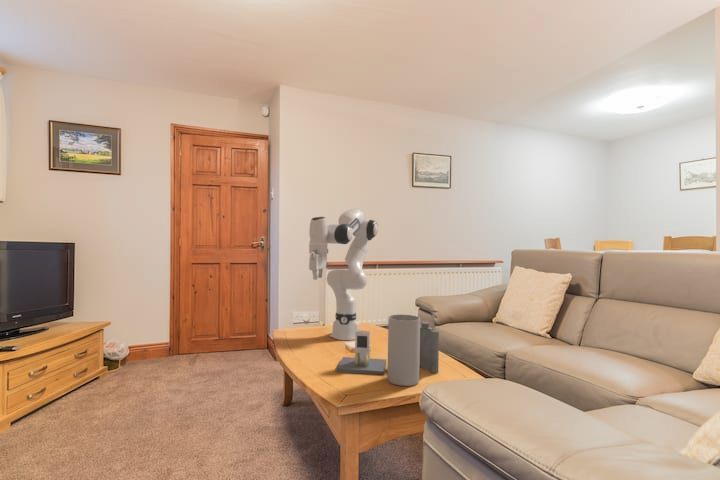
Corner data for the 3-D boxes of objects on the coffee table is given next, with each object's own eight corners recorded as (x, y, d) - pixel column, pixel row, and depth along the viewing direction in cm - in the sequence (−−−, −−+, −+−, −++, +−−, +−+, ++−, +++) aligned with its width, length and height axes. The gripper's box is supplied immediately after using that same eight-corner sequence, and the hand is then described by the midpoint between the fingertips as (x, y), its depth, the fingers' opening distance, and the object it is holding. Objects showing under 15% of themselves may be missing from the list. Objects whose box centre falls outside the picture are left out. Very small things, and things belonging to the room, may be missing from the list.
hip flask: (408, 363, 164) (409, 319, 164) (414, 362, 166) (415, 318, 167) (434, 374, 151) (435, 326, 151) (441, 372, 153) (442, 325, 154)
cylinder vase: (420, 376, 148) (421, 315, 148) (418, 388, 136) (419, 321, 136) (389, 373, 150) (390, 313, 151) (385, 385, 138) (386, 319, 139)
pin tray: (343, 360, 168) (343, 347, 168) (386, 362, 165) (386, 349, 165) (336, 372, 152) (336, 357, 152) (383, 375, 149) (384, 360, 149)
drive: (356, 361, 161) (356, 330, 161) (369, 362, 160) (370, 331, 160) (354, 364, 157) (355, 332, 157) (368, 365, 156) (369, 332, 156)
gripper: (319, 250, 164) (318, 280, 164) (329, 249, 185) (328, 276, 184) (305, 250, 165) (305, 280, 165) (317, 249, 185) (316, 276, 185)
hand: (317, 278), depth 175 cm, fingers open, 8 cm apart
